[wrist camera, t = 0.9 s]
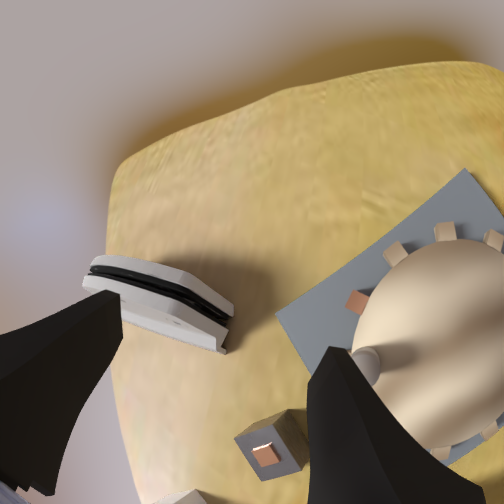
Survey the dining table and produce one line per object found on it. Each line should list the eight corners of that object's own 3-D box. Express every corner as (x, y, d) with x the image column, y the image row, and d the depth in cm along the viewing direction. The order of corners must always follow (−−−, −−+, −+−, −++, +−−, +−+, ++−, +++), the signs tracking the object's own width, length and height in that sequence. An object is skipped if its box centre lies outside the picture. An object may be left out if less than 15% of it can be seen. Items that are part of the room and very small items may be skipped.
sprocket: (558, 357, 10) (587, 364, 5) (393, 485, 14) (391, 519, 10) (466, 184, 17) (483, 155, 13) (293, 318, 22) (270, 320, 17)
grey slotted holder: (120, 319, 33) (61, 286, 25) (133, 287, 35) (79, 249, 27) (228, 355, 25) (165, 325, 17) (243, 310, 27) (189, 262, 19)
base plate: (559, 355, 11) (567, 357, 9) (385, 488, 16) (385, 497, 14) (461, 175, 19) (465, 167, 17) (280, 313, 24) (274, 313, 22)
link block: (313, 449, 20) (300, 472, 16) (277, 461, 21) (260, 483, 17) (288, 408, 22) (270, 425, 18) (253, 423, 23) (231, 439, 19)
